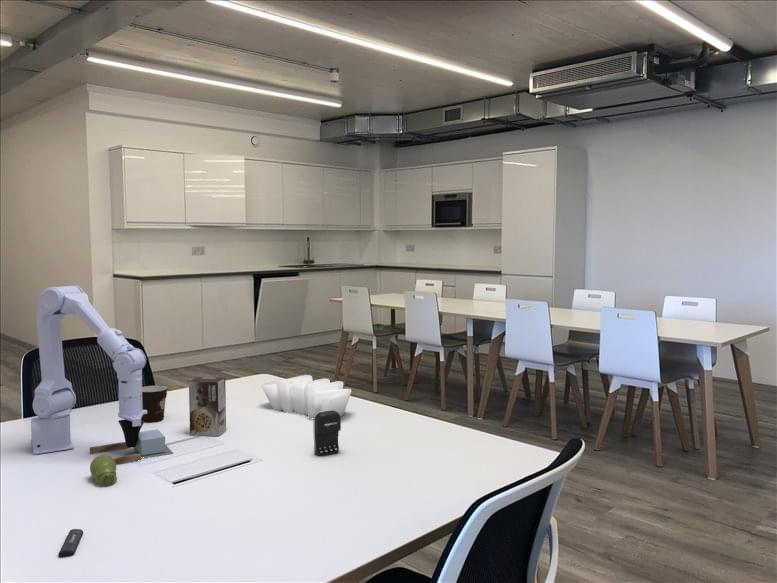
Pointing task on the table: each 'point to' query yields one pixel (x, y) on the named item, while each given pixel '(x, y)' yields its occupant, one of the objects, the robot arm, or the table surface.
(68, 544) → the usb stick
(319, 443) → the battery charger
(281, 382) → the white wavy slab sculpture
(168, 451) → the mat
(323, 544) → the table surface
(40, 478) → the table surface
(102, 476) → the pear
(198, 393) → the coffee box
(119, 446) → the chute
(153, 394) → the coffee mug
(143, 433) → the block
